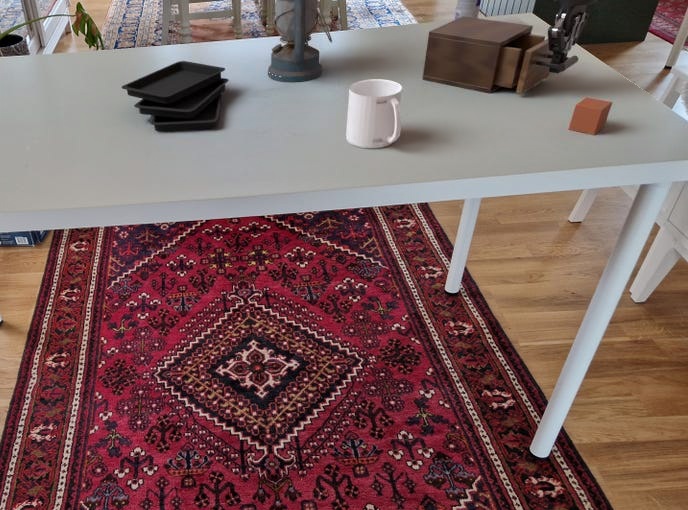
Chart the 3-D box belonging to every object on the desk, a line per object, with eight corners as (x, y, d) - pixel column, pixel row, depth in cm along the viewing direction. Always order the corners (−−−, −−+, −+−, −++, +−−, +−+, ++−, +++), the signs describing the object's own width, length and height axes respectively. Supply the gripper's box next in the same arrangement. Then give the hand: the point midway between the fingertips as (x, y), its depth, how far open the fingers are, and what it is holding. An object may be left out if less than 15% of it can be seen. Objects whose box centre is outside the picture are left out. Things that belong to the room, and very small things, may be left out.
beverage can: (477, 35, 163) (490, -33, 153) (455, 37, 163) (467, -31, 153) (470, 29, 167) (482, -37, 157) (449, 31, 167) (459, -35, 157)
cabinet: (521, 74, 139) (533, 25, 133) (489, 93, 132) (500, 42, 126) (454, 62, 148) (462, 16, 142) (422, 79, 141) (429, 31, 135)
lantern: (264, 62, 158) (263, -84, 139) (322, 58, 158) (329, -89, 138) (271, 88, 144) (270, -71, 124) (335, 84, 143) (344, -77, 123)
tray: (241, 127, 128) (240, 101, 125) (126, 140, 127) (121, 114, 124) (223, 80, 151) (221, 56, 147) (125, 90, 150) (121, 67, 146)
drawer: (577, 81, 131) (589, 39, 126) (550, 99, 125) (562, 56, 120) (484, 64, 143) (492, 26, 138) (454, 80, 137) (461, 40, 132)
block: (604, 127, 116) (612, 102, 113) (593, 135, 114) (602, 109, 111) (578, 121, 119) (586, 97, 116) (568, 129, 116) (575, 104, 113)
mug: (338, 134, 122) (341, 83, 116) (381, 126, 123) (387, 76, 117) (365, 158, 113) (370, 105, 107) (412, 150, 114) (419, 97, 108)
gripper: (588, -19, 111) (559, 84, 122) (618, -34, 117) (588, 66, 129) (545, -23, 115) (521, 77, 127) (576, -37, 122) (551, 60, 133)
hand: (555, 71), depth 128 cm, fingers closed
